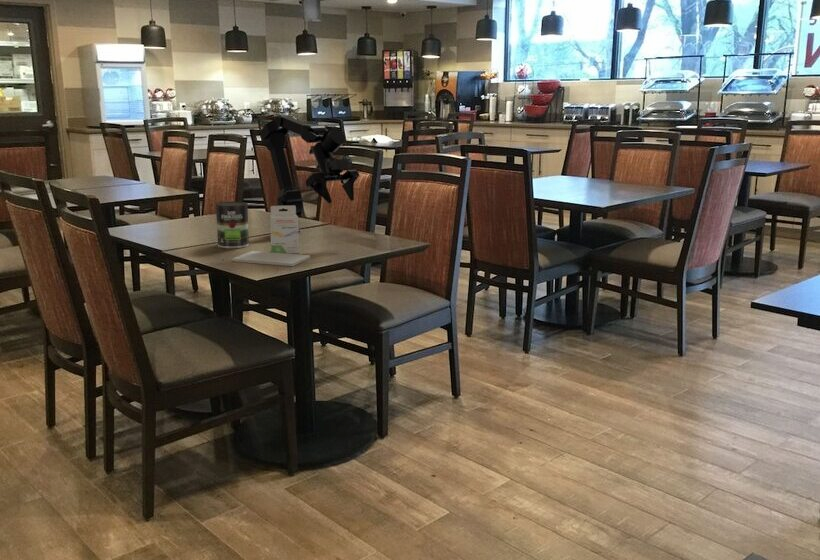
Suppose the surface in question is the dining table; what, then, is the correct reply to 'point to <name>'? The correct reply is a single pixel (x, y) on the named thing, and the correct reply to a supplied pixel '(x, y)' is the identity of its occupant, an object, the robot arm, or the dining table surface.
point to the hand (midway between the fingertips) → (341, 201)
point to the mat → (271, 258)
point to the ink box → (284, 230)
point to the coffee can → (232, 224)
